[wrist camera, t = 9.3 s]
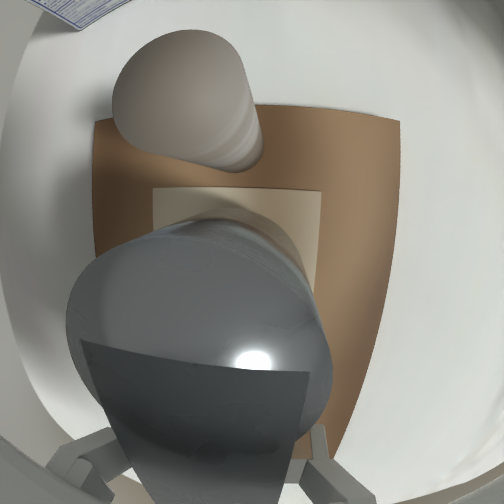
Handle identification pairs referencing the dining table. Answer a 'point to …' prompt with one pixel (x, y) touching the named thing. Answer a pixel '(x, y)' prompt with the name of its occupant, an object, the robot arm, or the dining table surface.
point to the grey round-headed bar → (204, 355)
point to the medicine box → (78, 10)
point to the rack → (256, 183)
